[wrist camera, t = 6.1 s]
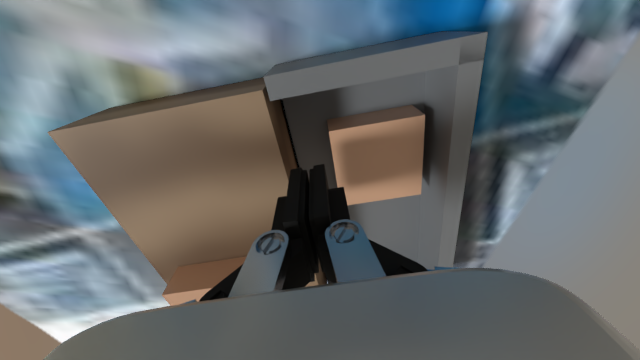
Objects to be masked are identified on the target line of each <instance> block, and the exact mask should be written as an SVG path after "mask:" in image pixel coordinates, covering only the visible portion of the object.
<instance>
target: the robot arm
mask: <svg viewBox="0 0 640 360" xmlns="http://www.w3.org/2000/svg"><path fill="white" fill-rule="evenodd" d="M319 262H320V265H321V269H322V272H325V276H326V279H328V280H329V281H330V282H332V283H331V284H323V285H316V286H308V287H305V286H306V285H307V284H308V283H309V282H315V273H319ZM43 360H640V350H639V349H638V348H637V347H636V346H635V345H634V344H633V343H631V342H630V341H629V340H628V339H627V338H626V337H625V336H624V335H623V334H622V333H620V332H619V331H618V330H617V329H616V328H615V327H614V326H613V325H612V324H611V323H609V322H608V321H607V320H606V319H605V318H604V317H602V316H601V315H600V314H599V313H598V312H596V311H595V310H594V309H593V308H592V307H591V306H589V305H588V304H587V303H585V302H584V301H583V300H582V299H580V298H579V297H577V296H576V295H575V294H573V293H572V292H570V291H569V290H567V289H565V288H563V287H562V286H560V285H558V284H556V283H553V282H551V281H549V280H546V279H543V278H539V277H537V276H533V275H529V274H525V273H520V272H514V271H508V270H503V269H491V268H452V267H435V266H434V270H431V269H426V268H425V267H424V266H422V265H421V264H419V263H417V262H415V261H413V260H411V259H409V258H407V257H405V256H403V255H401V254H398V253H396V252H394V251H392V250H390V249H388V248H386V247H384V246H382V245H380V244H378V243H376V242H374V241H371V240H369V239H368V238H367V236H366V234H365V232H364V230H363V228H362V226H361V225H360V224H359V223H357V222H356V221H353V220H350V215H349V210H348V206H347V201H346V196H345V191H344V187H339V188H332V189H329V186H328V180H327V175H326V170H325V165H324V164H320V165H314V166H313V169H310V171H309V178H308V173H307V170H303V169H302V168H296V169H291V170H290V176H289V183H288V189H287V196H283V197H278V199H277V204H276V209H275V214H274V219H273V224H272V229H271V231H268V232H265V233H263V234H261V235H260V236H259V237H258V238H256V239H255V241H254V242H253V244H252V246H251V248H250V251H249V253H248V255H247V257H246V259H245V261H244V264H242V265H241V266H240V267H238V268H237V269H236V270H235V271H233V272H232V273H231V274H230V275H228V276H227V277H226V278H224V279H223V280H222V281H221V282H219V283H218V284H217V285H216V286H214V287H213V288H212V289H210V290H209V291H208V292H207V293H206V294H205V295H204V296H202V297H201V299H200V300H199V301H198V302H197V301H196V299H194V300H191V301H188V302H185V303H182V304H179V305H174V306H167V307H162V308H156V309H151V310H145V311H140V312H135V313H131V314H127V315H123V316H120V317H116V318H114V319H111V320H108V321H105V322H102V323H100V324H98V325H95V326H93V327H91V328H89V329H87V330H85V331H82V332H80V333H79V334H77V335H75V336H73V337H71V338H70V339H68V340H67V341H65V342H63V343H62V344H60V345H59V346H58V347H57V348H55V349H54V350H53V351H52V352H51V353H50V354H49V355H48V356H46V357H45V358H44V359H43Z"/></svg>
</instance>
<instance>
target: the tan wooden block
mask: <svg viewBox="0 0 640 360" xmlns="http://www.w3.org/2000/svg"><path fill="white" fill-rule="evenodd" d="M48 134H49V135H50V136H51V137H52V139H53V140H54V141H55V143H56V144H57V145H58V146H59V148H60V149H61V150H62V151H63V153H64V154H65V155H66V156H67V158H68V159H69V160H70V162H71V163H72V164H73V165H74V167H75V168H76V169H77V170H78V172H79V173H80V174H81V175H82V177H83V178H84V179H85V181H86V182H87V183H88V184H89V186H90V187H91V188H92V189H93V191H94V192H95V193H96V194H97V196H98V197H99V198H100V200H101V201H102V202H103V203H104V205H105V206H106V207H107V208H108V210H109V211H110V212H111V213H112V215H113V216H114V217H115V219H116V220H117V221H118V222H119V224H120V225H121V226H122V227H123V229H124V230H125V231H126V233H127V234H128V235H129V236H130V238H131V239H132V240H133V241H134V243H135V244H136V245H137V246H138V248H139V249H140V250H141V252H142V253H143V254H144V255H145V257H146V258H147V259H148V260H149V262H150V263H151V264H152V265H153V267H154V268H155V269H156V271H157V272H158V273H159V274H160V276H161V277H162V278H163V279H164V281H165V282H166V283H167V284H168V283H169V282H170V280H171V278H172V276H173V275H174V273H175V271H176V269H177V267H179V266H186V265H192V264H199V263H206V262H212V261H219V260H226V259H232V258H239V257H246V256H247V255H248V253H249V251H250V248H251V246H252V244H253V242H254V241H255V239H256V238H258V237H259V236H260V235H261V234H263V233H265V232H268V231H271V229H272V224H273V219H274V214H275V209H276V204H277V199H278V197H283V196H287V189H288V183H289V176H290V170H291V169H296V168H298V166H297V162H296V158H295V154H294V150H293V146H292V142H291V138H290V134H289V130H288V126H287V123H286V119H285V115H284V111H283V107H282V103H281V99H278V100H273V101H270V99H269V95H268V92H267V88H266V85H265V81H264V77H263V78H258V79H253V80H248V81H243V82H238V83H233V84H228V85H223V86H218V87H213V88H208V89H203V90H198V91H193V92H188V93H183V94H178V95H173V96H168V97H163V98H158V99H153V100H148V101H143V102H138V103H133V104H128V105H123V106H118V107H113V108H108V109H106V110H103V111H101V112H98V113H96V114H93V115H90V116H88V117H85V118H83V119H80V120H78V121H75V122H72V123H70V124H67V125H65V126H62V127H60V128H57V129H54V130H52V131H49V132H48ZM323 284H327V279H326V276H325V272H322V269H321V265H320V262H319V273H315V282H309V283H308V284H307V285H306V286H305V287H308V286H316V285H323Z"/></svg>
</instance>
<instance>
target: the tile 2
mask: <svg viewBox="0 0 640 360" xmlns="http://www.w3.org/2000/svg"><path fill="white" fill-rule="evenodd" d="M327 124H328V131H329V137H330V143H331V150H332V156H333V162H334V169H335V175H336V181H337V188H339V187H344V191H345V196H346V201H347V205H354V204H360V203H367V202H373V201H380V200H386V199H393V198H400V197H406V196H413V195H419V194H421V187H422V168H423V149H424V130H425V114H423V113H422V112H421V111H419V110H418V109H417V108H415V107H414V106H413V105H408V106H402V107H396V108H390V109H385V110H379V111H373V112H368V113H362V114H356V115H350V116H345V117H339V118H333V119H327Z"/></svg>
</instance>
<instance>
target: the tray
mask: <svg viewBox="0 0 640 360" xmlns="http://www.w3.org/2000/svg"><path fill="white" fill-rule="evenodd" d="M487 34H488V32H454V31H441V32H436V33H431V34H426V35H421V36H416V37H411V38H406V39H401V40H396V41H392V42H387V43H382V44H377V45H372V46H367V47H362V48H357V49H352V50H347V51H342V52H337V53H332V54H327V55H322V56H317V57H312V58H307V59H303V60H298V61H293V62H288V63H283V64H278V65H275V66H274V67H273V68H272V69H271V70H270V71H269V72H268V73H267V74H266V75H265V76H264V81H265V85H266V88H267V92H268V95H269V99H270V101H273V100H278V99H282V100H283V104H284V108H285V112H286V116H287V120H288V124H289V128H290V132H291V136H292V139H293V143H294V147H295V151H296V155H297V159H298V163H299V167H300V168H302V169H303V170H307V173H308V178H309V171H310V169H313V166H314V165H320V164H324V165H325V170H326V175H327V180H328V186H329V189H332V188H337V181H336V175H335V169H334V162H333V156H332V150H331V143H330V137H329V131H328V124H327V119H333V118H339V117H345V116H350V115H356V114H362V113H368V112H373V111H379V110H385V109H390V108H396V107H402V106H408V105H413V106H414V107H415V108H417V109H418V110H419V111H421V112H422V113H423V114H425V130H424V149H423V168H422V187H421V194H419V195H413V196H406V197H400V198H393V199H386V200H380V201H373V202H367V203H360V204H354V205H347V206H348V210H349V215H350V220H353V221H356V222H357V223H359V224H360V225H361V226H362V228H363V230H364V232H365V234H366V236H367V238H368V239H369V240H371V241H374V242H376V243H378V244H380V245H382V246H384V247H386V248H388V249H390V250H392V251H394V252H396V253H398V254H401V255H403V256H405V257H407V258H409V259H411V260H413V261H415V262H417V263H419V264H421V265H422V266H424V267H425V268H426V269H431V270H434V266H435V267H452V268H453V262H454V256H455V249H456V242H457V236H458V229H459V222H460V216H461V209H462V202H463V195H464V189H465V182H466V175H467V169H468V162H469V155H470V148H471V142H472V135H473V128H474V122H475V115H476V108H477V102H478V95H479V88H480V81H481V75H482V68H483V61H484V55H485V48H486V41H487ZM331 283H332V282H330V281H329V280H328V284H331Z"/></svg>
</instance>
